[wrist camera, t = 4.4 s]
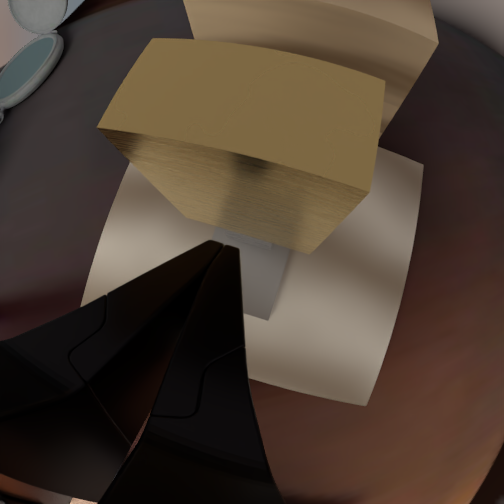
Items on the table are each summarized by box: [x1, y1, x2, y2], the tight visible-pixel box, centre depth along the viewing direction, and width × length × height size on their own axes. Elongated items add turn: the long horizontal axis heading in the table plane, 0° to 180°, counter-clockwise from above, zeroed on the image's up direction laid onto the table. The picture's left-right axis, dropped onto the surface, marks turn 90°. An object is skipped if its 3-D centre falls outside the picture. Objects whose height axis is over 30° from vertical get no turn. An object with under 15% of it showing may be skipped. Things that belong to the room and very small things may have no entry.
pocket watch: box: [0, 0, 68, 124], centre depth 15 cm, size 10×11×15 cm
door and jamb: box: [81, 0, 439, 406], centre depth 12 cm, size 19×16×10 cm
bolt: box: [97, 38, 385, 255], centre depth 9 cm, size 7×5×9 cm
